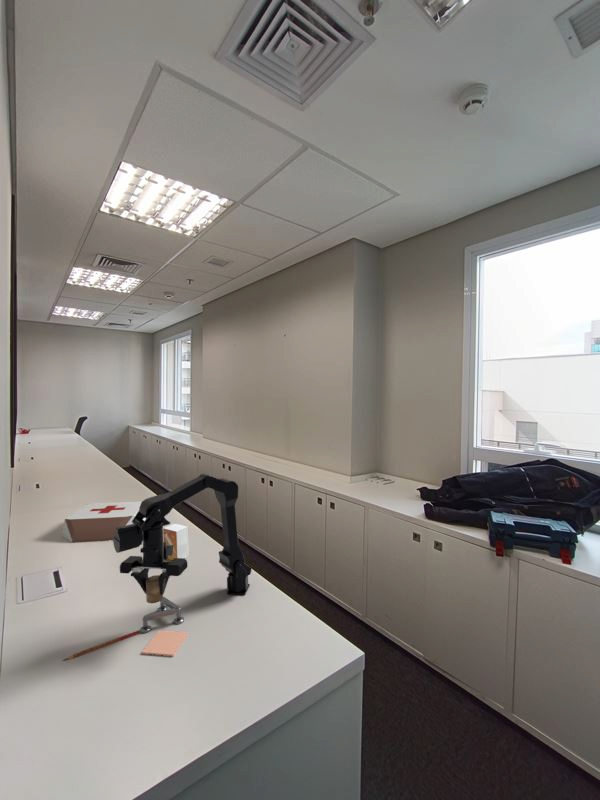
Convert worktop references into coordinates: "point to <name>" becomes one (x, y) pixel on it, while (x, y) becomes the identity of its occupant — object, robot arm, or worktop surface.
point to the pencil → (101, 645)
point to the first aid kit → (99, 521)
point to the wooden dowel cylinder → (153, 590)
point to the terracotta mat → (165, 643)
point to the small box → (177, 540)
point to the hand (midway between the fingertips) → (154, 593)
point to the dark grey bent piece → (162, 614)
